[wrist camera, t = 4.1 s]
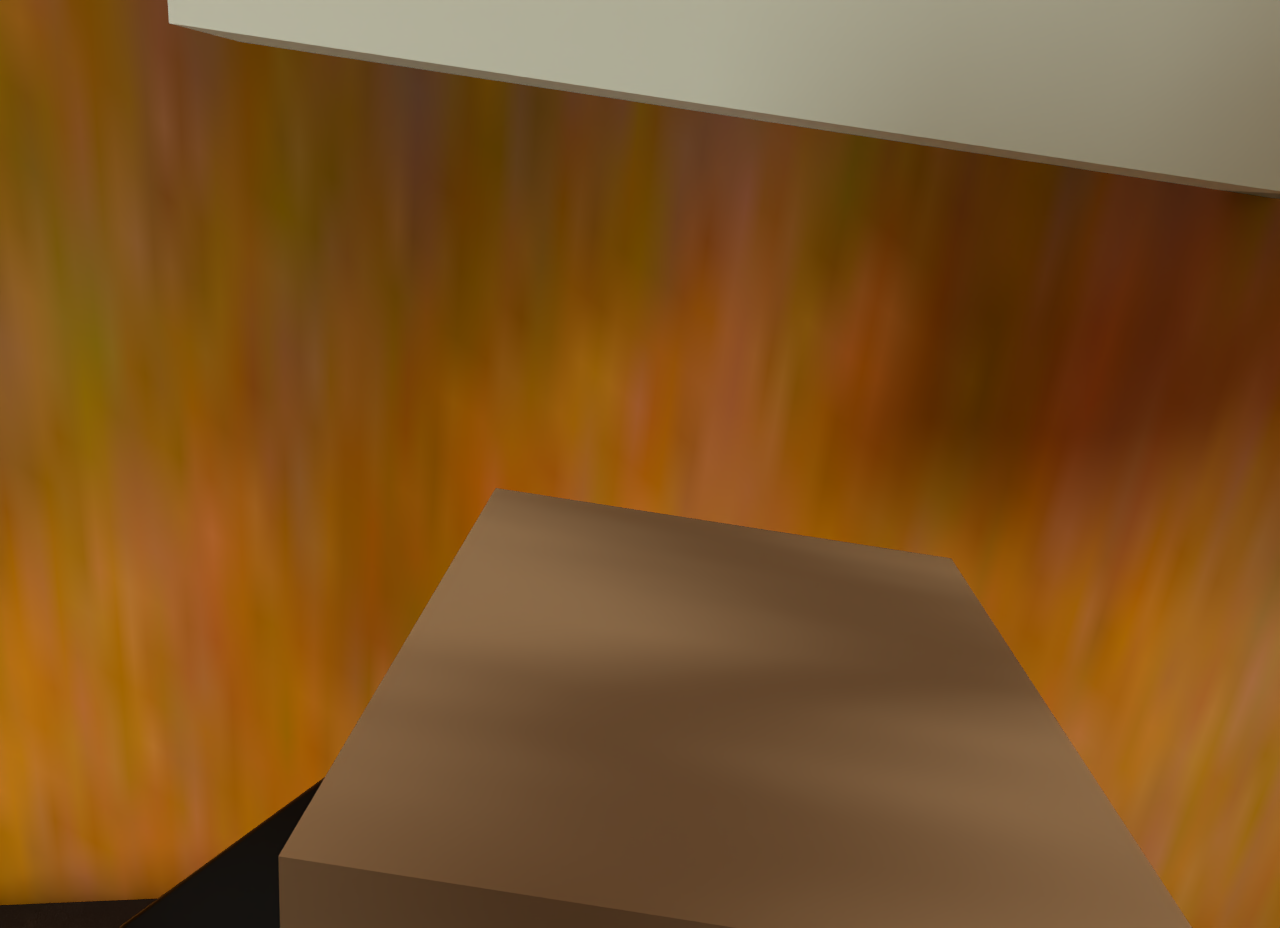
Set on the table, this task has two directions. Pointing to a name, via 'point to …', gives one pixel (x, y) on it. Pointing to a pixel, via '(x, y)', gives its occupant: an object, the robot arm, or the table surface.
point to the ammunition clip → (71, 914)
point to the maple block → (706, 747)
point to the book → (861, 67)
